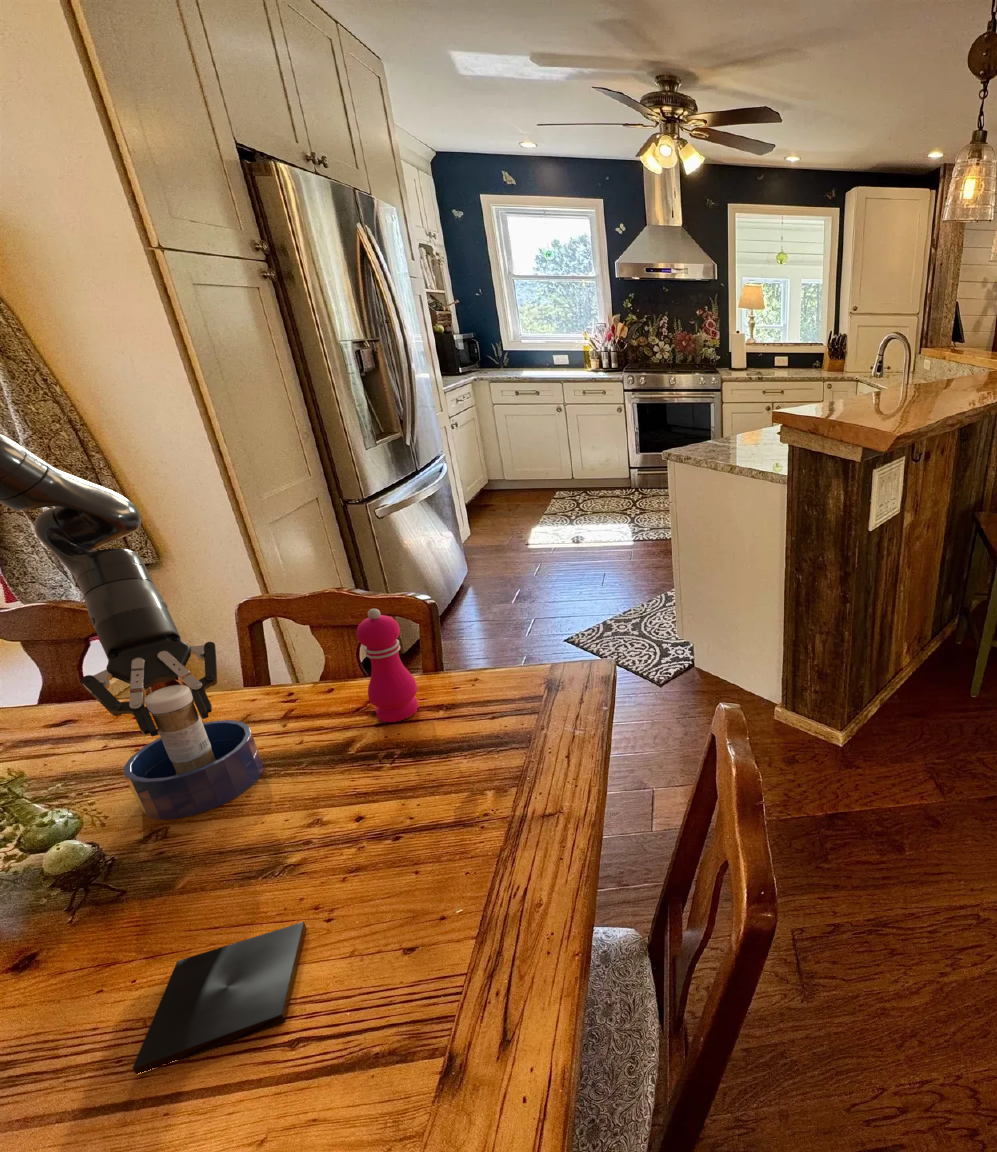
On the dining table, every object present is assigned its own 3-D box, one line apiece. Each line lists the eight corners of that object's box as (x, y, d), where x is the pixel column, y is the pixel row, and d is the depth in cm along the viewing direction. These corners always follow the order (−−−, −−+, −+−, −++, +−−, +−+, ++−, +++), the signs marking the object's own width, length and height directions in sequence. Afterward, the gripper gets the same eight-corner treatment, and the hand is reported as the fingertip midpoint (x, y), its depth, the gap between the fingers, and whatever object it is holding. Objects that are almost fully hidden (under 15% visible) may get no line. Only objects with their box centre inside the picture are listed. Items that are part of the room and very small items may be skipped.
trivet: (136, 1076, 55) (131, 1068, 55) (180, 968, 64) (176, 960, 64) (285, 1022, 60) (282, 1014, 59) (307, 928, 69) (304, 921, 68)
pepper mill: (393, 698, 110) (368, 598, 102) (430, 702, 109) (408, 601, 101) (364, 722, 103) (334, 617, 96) (403, 727, 102) (377, 621, 95)
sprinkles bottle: (196, 760, 90) (165, 682, 85) (227, 761, 90) (198, 684, 85) (168, 782, 86) (133, 701, 81) (200, 783, 86) (168, 702, 81)
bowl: (123, 831, 81) (104, 793, 78) (162, 768, 92) (147, 733, 89) (250, 801, 86) (236, 765, 84) (272, 745, 97) (260, 711, 95)
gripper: (200, 614, 93) (246, 711, 91) (63, 648, 83) (110, 758, 81) (197, 592, 88) (245, 694, 86) (51, 625, 78) (101, 742, 76)
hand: (179, 724), depth 83 cm, fingers closed on sprinkles bottle, 4 cm apart
